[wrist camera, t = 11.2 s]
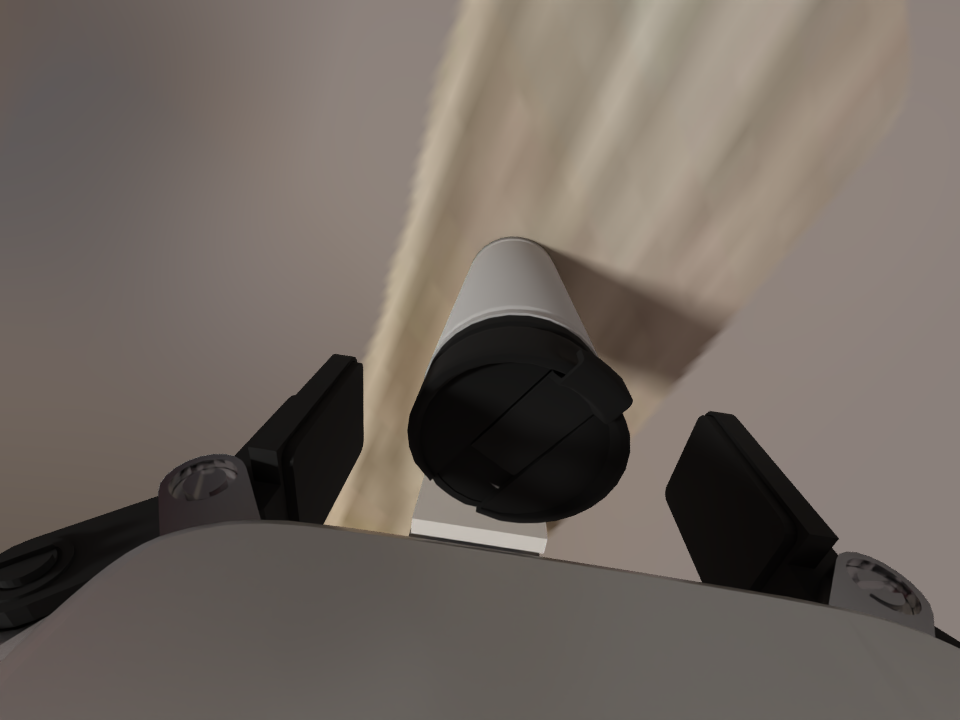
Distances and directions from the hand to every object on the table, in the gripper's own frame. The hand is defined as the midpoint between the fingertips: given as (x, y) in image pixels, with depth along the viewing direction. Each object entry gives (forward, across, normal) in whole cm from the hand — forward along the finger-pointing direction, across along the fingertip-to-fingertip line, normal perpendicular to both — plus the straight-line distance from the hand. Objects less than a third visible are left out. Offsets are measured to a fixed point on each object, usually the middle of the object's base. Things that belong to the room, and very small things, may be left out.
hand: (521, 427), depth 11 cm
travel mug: (+19, 0, +1) cm, 19 cm away
